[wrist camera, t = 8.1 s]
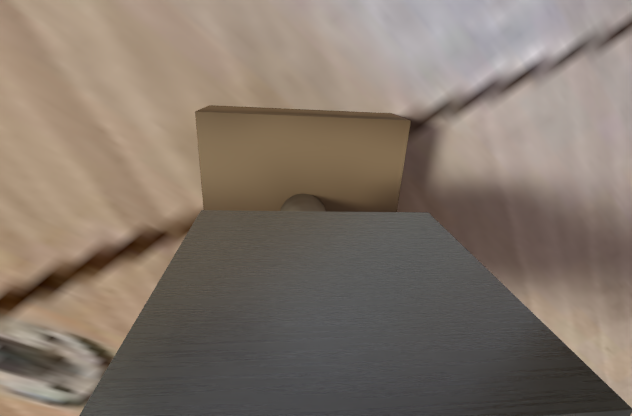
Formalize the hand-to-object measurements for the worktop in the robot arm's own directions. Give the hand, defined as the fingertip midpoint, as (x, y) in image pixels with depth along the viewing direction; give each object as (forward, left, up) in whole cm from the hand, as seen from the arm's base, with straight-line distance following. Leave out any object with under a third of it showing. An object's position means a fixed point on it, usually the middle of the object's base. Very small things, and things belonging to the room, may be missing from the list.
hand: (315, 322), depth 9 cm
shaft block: (0, 0, -11) cm, 11 cm away
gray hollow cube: (0, 0, -1) cm, 1 cm away
